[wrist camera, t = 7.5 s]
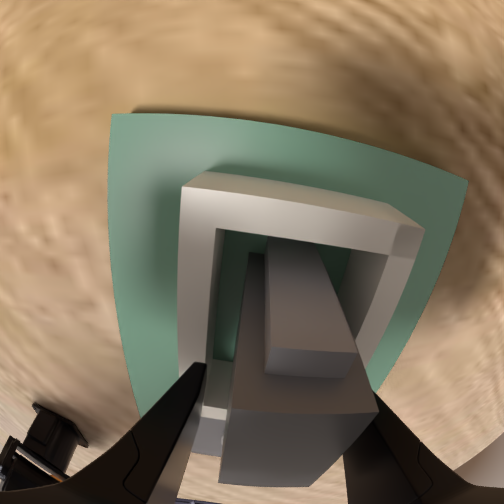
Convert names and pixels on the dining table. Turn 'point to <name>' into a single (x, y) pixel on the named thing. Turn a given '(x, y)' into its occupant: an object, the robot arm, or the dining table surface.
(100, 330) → the dining table surface
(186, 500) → the toy spaceship
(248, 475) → the plug
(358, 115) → the dining table surface
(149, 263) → the board
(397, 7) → the dining table surface
